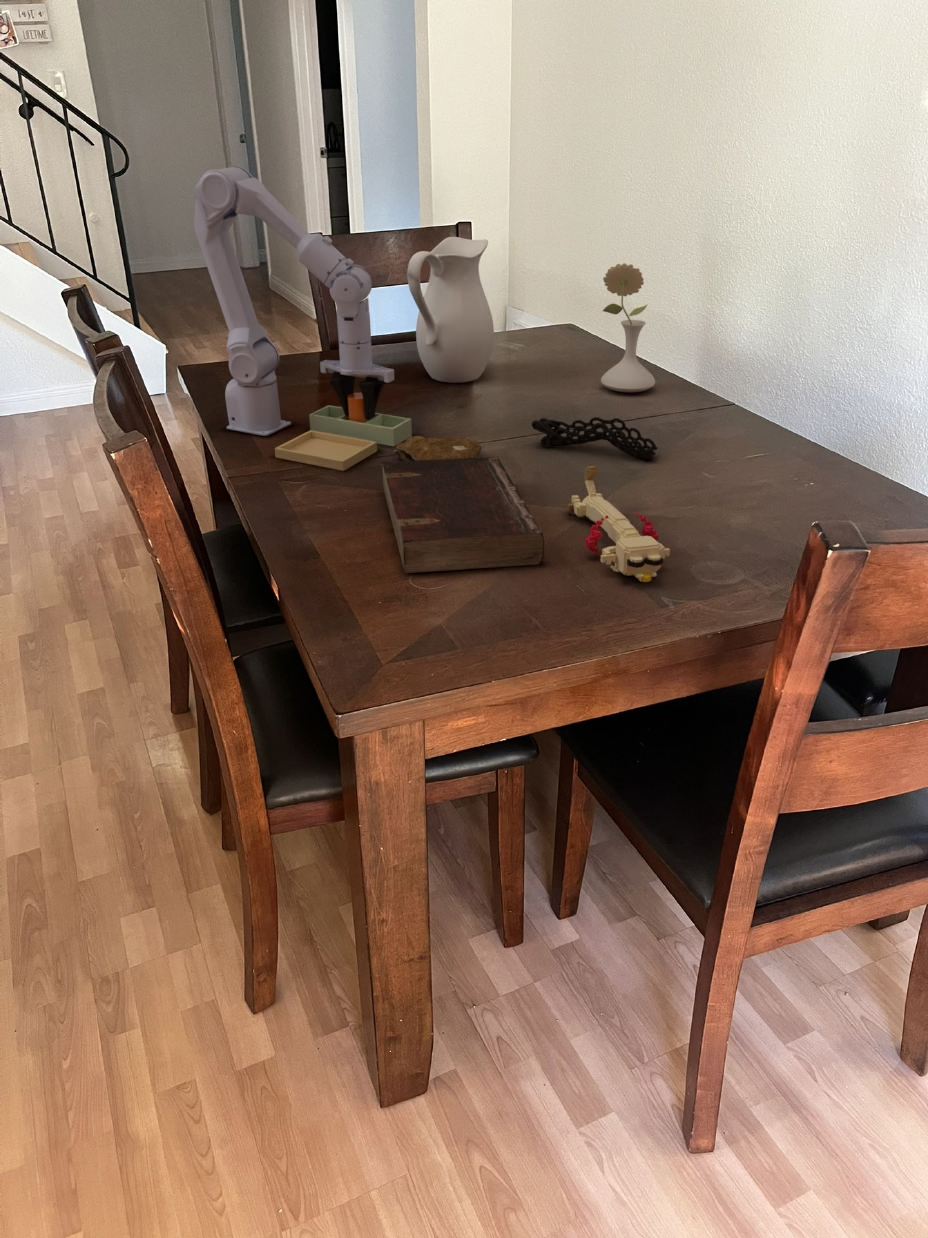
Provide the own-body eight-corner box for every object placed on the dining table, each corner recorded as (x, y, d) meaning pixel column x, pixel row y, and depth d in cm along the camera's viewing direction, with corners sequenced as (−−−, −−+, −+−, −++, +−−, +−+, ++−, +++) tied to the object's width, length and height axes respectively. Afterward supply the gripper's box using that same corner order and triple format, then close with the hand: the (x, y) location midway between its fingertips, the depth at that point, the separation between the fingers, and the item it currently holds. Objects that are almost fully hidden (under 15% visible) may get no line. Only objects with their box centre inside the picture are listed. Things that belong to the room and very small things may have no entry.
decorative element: (657, 455, 156) (661, 422, 153) (650, 464, 152) (654, 431, 149) (537, 438, 164) (538, 406, 161) (527, 446, 160) (528, 414, 157)
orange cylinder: (344, 423, 165) (343, 396, 162) (356, 417, 168) (355, 391, 165) (363, 426, 163) (361, 399, 161) (375, 420, 166) (373, 394, 164)
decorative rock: (392, 477, 149) (482, 479, 149) (391, 454, 147) (483, 456, 147) (395, 449, 158) (480, 451, 159) (395, 427, 156) (481, 429, 157)
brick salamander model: (553, 522, 135) (611, 587, 113) (554, 465, 132) (615, 522, 110) (615, 516, 137) (684, 579, 115) (619, 460, 133) (691, 515, 111)
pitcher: (447, 362, 210) (446, 233, 195) (508, 373, 201) (510, 240, 187) (381, 386, 193) (374, 247, 179) (444, 399, 184) (442, 255, 170)
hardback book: (543, 564, 121) (544, 530, 118) (404, 575, 118) (403, 541, 116) (499, 483, 145) (499, 454, 143) (383, 491, 143) (382, 461, 140)
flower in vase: (662, 386, 192) (676, 262, 179) (641, 400, 184) (654, 271, 171) (606, 377, 198) (616, 257, 185) (584, 390, 190) (592, 265, 177)
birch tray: (275, 457, 156) (274, 448, 155) (311, 438, 164) (310, 429, 163) (343, 470, 150) (343, 461, 150) (377, 450, 159) (376, 441, 158)
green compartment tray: (310, 431, 168) (308, 414, 166) (329, 421, 173) (328, 404, 171) (394, 446, 161) (393, 428, 159) (411, 435, 165) (411, 418, 164)
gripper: (307, 340, 158) (314, 416, 165) (377, 350, 152) (381, 427, 159) (330, 332, 163) (336, 405, 170) (399, 341, 157) (402, 416, 164)
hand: (359, 415), depth 165 cm, fingers closed on orange cylinder, 4 cm apart
